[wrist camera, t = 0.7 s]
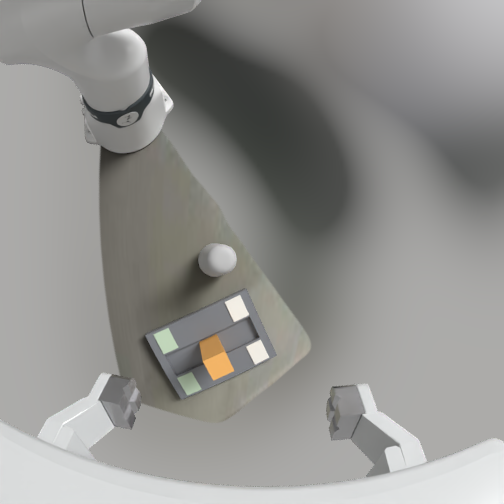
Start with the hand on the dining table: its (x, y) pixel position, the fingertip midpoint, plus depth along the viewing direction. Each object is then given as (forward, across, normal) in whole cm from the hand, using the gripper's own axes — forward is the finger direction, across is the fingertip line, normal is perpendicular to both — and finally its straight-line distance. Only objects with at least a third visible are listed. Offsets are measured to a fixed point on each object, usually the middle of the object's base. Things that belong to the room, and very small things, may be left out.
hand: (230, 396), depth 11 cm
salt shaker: (+41, +7, +12) cm, 43 cm away
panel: (+34, +8, +26) cm, 44 cm away
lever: (+33, +7, +26) cm, 43 cm away
